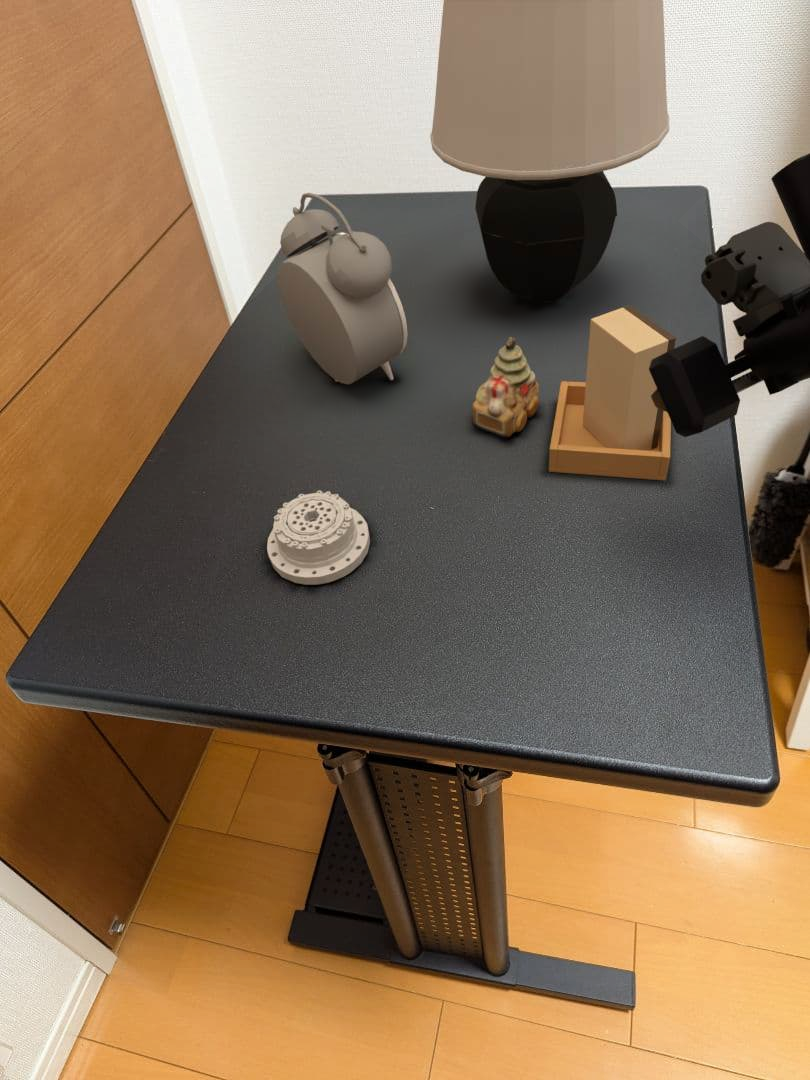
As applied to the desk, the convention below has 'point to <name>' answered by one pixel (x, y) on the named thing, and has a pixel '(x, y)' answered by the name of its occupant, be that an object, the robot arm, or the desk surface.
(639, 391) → the back pad
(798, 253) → the robot arm
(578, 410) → the mount frame
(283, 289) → the alarm clock
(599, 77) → the table lamp
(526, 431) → the desk surface
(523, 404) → the ornament
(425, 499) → the desk surface
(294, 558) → the mechanical component
